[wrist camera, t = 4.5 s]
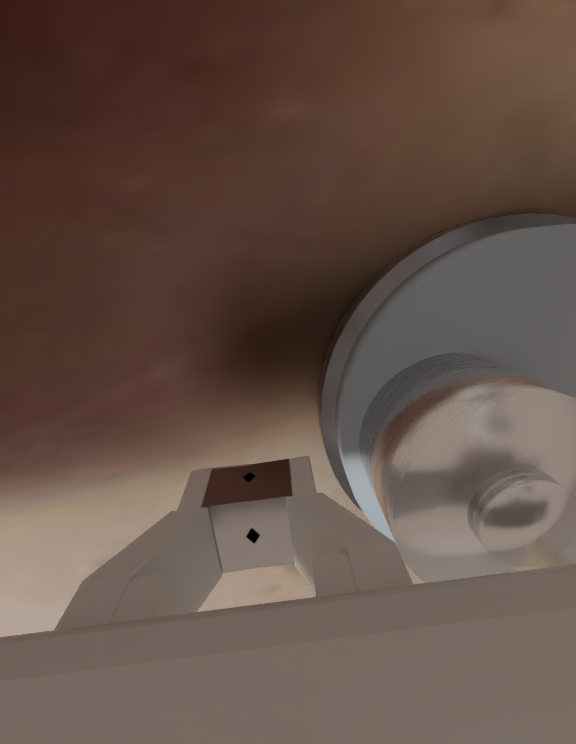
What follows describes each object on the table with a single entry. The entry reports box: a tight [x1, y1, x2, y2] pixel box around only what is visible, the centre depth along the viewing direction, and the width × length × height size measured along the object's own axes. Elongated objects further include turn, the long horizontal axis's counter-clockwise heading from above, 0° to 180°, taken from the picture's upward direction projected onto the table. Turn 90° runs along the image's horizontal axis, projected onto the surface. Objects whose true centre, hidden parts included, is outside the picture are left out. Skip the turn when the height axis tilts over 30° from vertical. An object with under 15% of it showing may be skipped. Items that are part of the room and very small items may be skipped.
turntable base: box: [318, 213, 576, 512], centre depth 13 cm, size 12×12×1 cm
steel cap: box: [359, 353, 576, 583], centre depth 9 cm, size 5×5×4 cm
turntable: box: [335, 224, 576, 546], centre depth 10 cm, size 11×11×5 cm
